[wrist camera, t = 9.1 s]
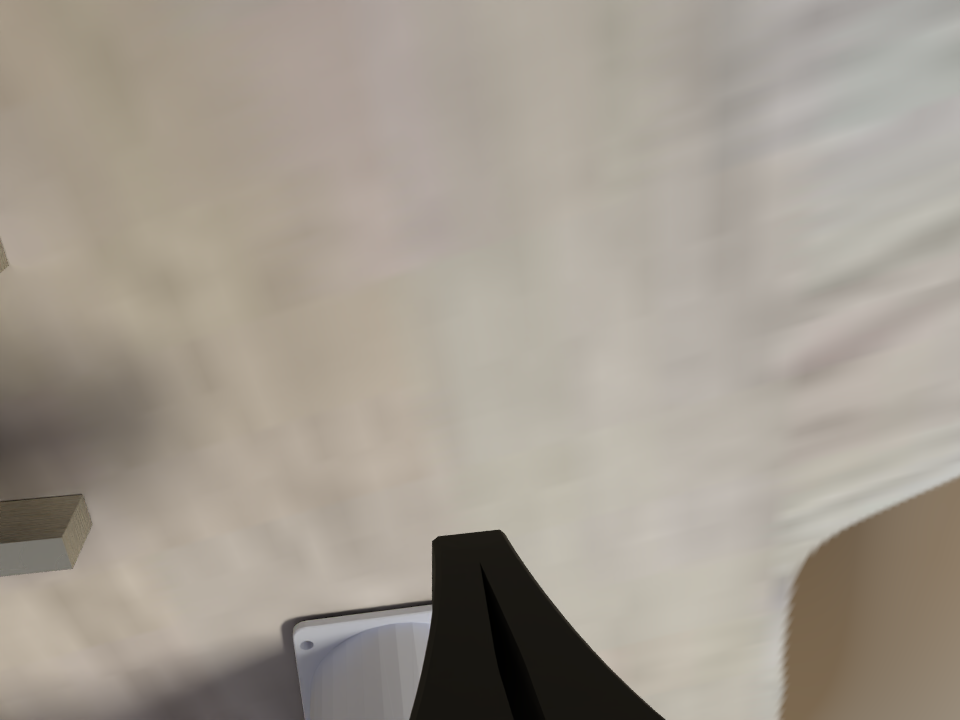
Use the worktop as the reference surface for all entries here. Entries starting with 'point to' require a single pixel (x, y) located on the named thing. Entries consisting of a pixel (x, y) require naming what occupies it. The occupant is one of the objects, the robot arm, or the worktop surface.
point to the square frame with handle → (41, 527)
